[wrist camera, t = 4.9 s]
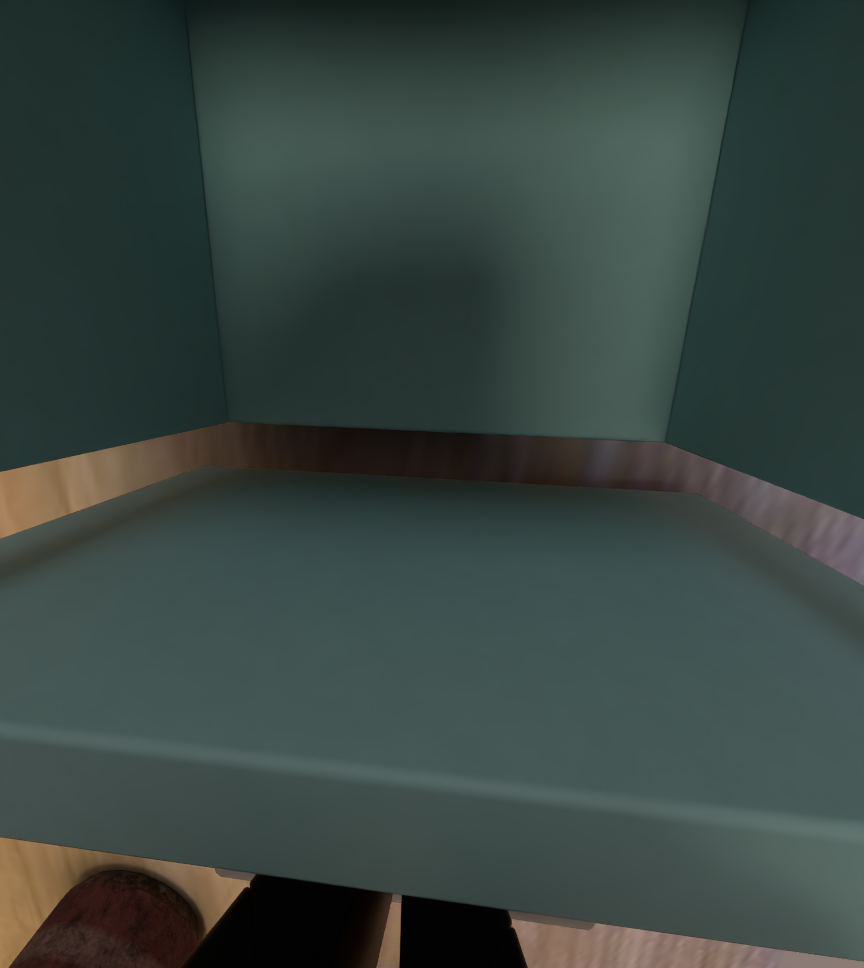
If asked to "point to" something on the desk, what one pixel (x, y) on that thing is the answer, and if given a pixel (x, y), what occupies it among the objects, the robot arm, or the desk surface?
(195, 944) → the can
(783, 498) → the desk surface
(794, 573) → the mint green drawer
